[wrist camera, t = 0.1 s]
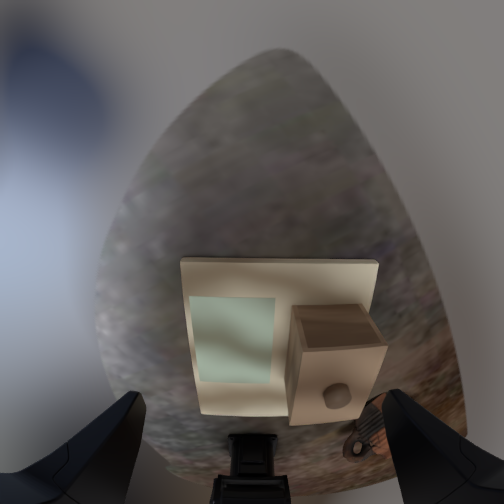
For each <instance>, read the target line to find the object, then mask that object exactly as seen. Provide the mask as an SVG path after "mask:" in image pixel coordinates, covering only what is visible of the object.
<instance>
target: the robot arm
mask: <svg viewBox="0 0 504 504" xmlns="http://www.w3.org/2000/svg"><path fill="white" fill-rule="evenodd" d="M381 409H382V415H383V420H384V426H385V431H386V437H387V442H388V445H389V449H390V452H391V456H392V459H393V463H394V467H395V470H396V474H397V478H398V482H399V485H400V489H401V493H402V498H403V502H404V504H504V460H501V459H499V458H498V457H496V456H494V455H492V454H490V453H488V452H487V451H485V450H483V449H481V448H480V447H478V446H476V445H474V444H473V443H472V442H470V441H469V440H467V439H466V438H464V437H463V436H462V435H460V434H459V433H457V432H456V431H455V430H453V429H452V428H451V427H449V426H448V425H446V424H445V423H444V422H442V421H441V420H440V419H438V418H437V417H436V416H434V415H433V414H432V413H430V412H429V411H428V410H426V409H425V408H424V407H422V406H421V405H420V404H418V403H417V402H416V401H414V400H413V399H412V398H410V397H409V396H408V395H406V394H405V393H404V392H402V391H401V390H400V389H393V390H389V391H388V392H387V394H386V396H385V398H384V400H383V402H382V405H381ZM145 415H146V405H145V402H144V399H143V397H142V394H141V393H140V392H137V391H129V392H127V393H126V394H125V395H124V396H122V397H121V398H120V399H119V400H118V401H116V402H115V403H114V404H113V405H112V406H110V407H109V408H108V409H107V410H105V411H104V412H103V413H102V414H101V415H99V416H98V417H97V418H96V419H94V420H93V421H92V422H91V423H89V424H88V425H87V426H86V427H84V428H83V429H82V430H81V431H79V432H78V433H77V434H76V435H74V436H73V437H72V438H70V439H69V440H68V442H66V443H64V444H63V445H61V446H60V447H59V448H57V449H56V450H55V451H53V452H52V453H50V454H49V455H47V456H46V457H44V458H42V459H41V460H39V461H37V462H35V463H34V464H32V465H30V466H28V467H27V468H25V469H23V470H21V471H18V472H14V473H0V504H124V503H125V499H126V495H127V491H128V487H129V483H130V479H131V476H132V473H133V469H134V466H135V462H136V458H137V455H138V452H139V448H140V444H141V439H142V433H143V427H144V421H145ZM277 439H278V438H277V436H276V435H229V436H228V444H229V453H230V457H231V468H230V476H225V475H219V474H218V478H215V479H214V483H213V490H212V495H211V499H210V504H291V498H290V491H289V485H288V479H287V475H283V476H275V475H274V456H275V451H276V445H277Z"/></svg>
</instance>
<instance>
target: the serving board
mask: <svg viewBox="0 0 504 504" xmlns="http://www.w3.org/2000/svg"><path fill="white" fill-rule="evenodd" d="M378 266H379V263H378V262H377V261H376V260H375V259H278V258H207V257H183V258H182V259H181V261H180V269H181V279H182V289H183V298H184V307H185V315H186V323H187V331H188V338H189V345H190V352H191V358H192V365H193V371H194V377H195V383H196V388H197V394H198V399H199V404H200V410H201V414H208V415H224V416H288V408H287V399H286V390H285V382H284V375H285V366H286V358H287V349H288V340H289V331H290V321H291V311H292V305H334V304H363V306H364V307H365V309H366V311H367V312H368V314H369V310H370V305H371V301H372V296H373V292H374V287H375V282H376V277H377V272H378Z"/></svg>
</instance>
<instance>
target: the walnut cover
mask: <svg viewBox="0 0 504 504" xmlns="http://www.w3.org/2000/svg"><path fill="white" fill-rule="evenodd" d="M387 348H388V344H387V342H386V341H385V339H384V337H383V336H382V334H381V333H380V331H379V329H378V328H377V326H376V325H375V323H374V321H373V320H372V318H371V317H370V315H369V314H368V312H367V311H366V309H365V307H364V306H363V304H334V305H292V311H291V321H290V331H289V340H288V349H287V358H286V366H285V375H284V382H285V390H286V399H287V408H288V416H289V425H290V426H292V425H308V424H319V423H329V422H337V421H345V420H352V419H358V418H359V417H360V414H361V412H362V410H363V408H364V406H365V404H366V401H367V399H368V397H369V395H370V392H371V390H372V388H373V385H374V383H375V380H376V378H377V375H378V373H379V370H380V367H381V365H382V362H383V359H384V357H385V354H386V351H387Z"/></svg>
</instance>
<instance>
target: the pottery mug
mask: <svg viewBox="0 0 504 504" xmlns="http://www.w3.org/2000/svg"><path fill="white" fill-rule="evenodd" d="M385 396H386V393H383V394H381V395H380V396H378V397H377V398H376V399H375V400H374V401H372V402H371V403H370V404H368V405H367V406H366V407H364V408H363V410H362V412H361V414H360V417H359V418H358V419H355V422H356V426H357V427H354V430H353V432H352V434H351V435H350V436H349V437H348V439H347V440H346V441H345V443H344V446H343V457H345V458H346V459H347V460H348V461H349V462H352V463H358V462H361V461H363V460H365V459H367V458H368V457H369V456H371V455H373V454H382V456H383V457H384V459H388V458H390V457H391V452H390V449H389V445H388V442H387V437H386V431H385V426H384V420H383V415H382V409H381V405H382V402H383V400H384V398H385ZM422 407H423V406H422ZM357 441H358V442H360V443H362V448H361V452H360V453H358V454H355V453H354V452H353V448H354V444H355V442H357ZM369 441H370V442H371V443H372V444H374V445H373V446H372V447H371V446H370V442H369Z"/></svg>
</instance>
